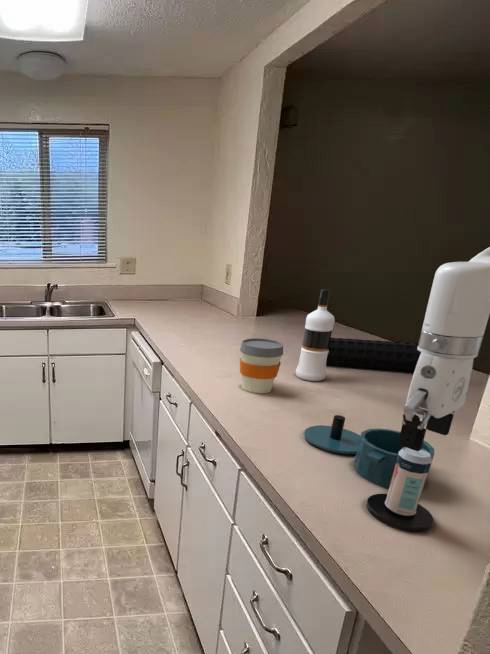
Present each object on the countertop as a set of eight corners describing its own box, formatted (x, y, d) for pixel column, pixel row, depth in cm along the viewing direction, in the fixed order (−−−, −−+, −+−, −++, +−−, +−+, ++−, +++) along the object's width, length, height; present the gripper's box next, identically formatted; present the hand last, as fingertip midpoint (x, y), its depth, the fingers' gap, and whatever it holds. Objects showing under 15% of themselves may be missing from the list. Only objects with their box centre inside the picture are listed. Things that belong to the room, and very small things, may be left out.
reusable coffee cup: (259, 379, 147) (265, 336, 142) (286, 392, 136) (293, 346, 131) (227, 383, 143) (232, 340, 138) (252, 397, 132) (258, 350, 127)
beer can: (399, 500, 82) (415, 443, 78) (422, 515, 77) (441, 457, 73) (377, 503, 81) (393, 446, 77) (400, 519, 77) (417, 460, 72)
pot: (441, 475, 92) (452, 443, 89) (398, 502, 83) (408, 468, 80) (378, 450, 102) (386, 421, 99) (334, 471, 93) (341, 440, 90)
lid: (378, 446, 103) (385, 421, 101) (346, 462, 97) (352, 435, 94) (323, 425, 114) (328, 401, 112) (291, 437, 108) (296, 413, 105)
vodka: (288, 374, 152) (303, 288, 141) (310, 371, 154) (325, 286, 144) (309, 383, 143) (325, 292, 133) (331, 380, 146) (349, 290, 136)
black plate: (442, 519, 78) (444, 515, 78) (415, 539, 73) (417, 535, 73) (383, 492, 86) (384, 487, 86) (355, 508, 81) (356, 504, 81)
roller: (303, 362, 159) (307, 335, 159) (299, 362, 169) (302, 336, 168) (426, 372, 148) (430, 342, 147) (414, 371, 157) (417, 344, 157)
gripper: (452, 358, 61) (424, 464, 67) (501, 339, 69) (471, 434, 75) (394, 347, 67) (372, 444, 73) (445, 330, 75) (422, 419, 81)
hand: (423, 439), depth 74 cm, fingers open, 9 cm apart
